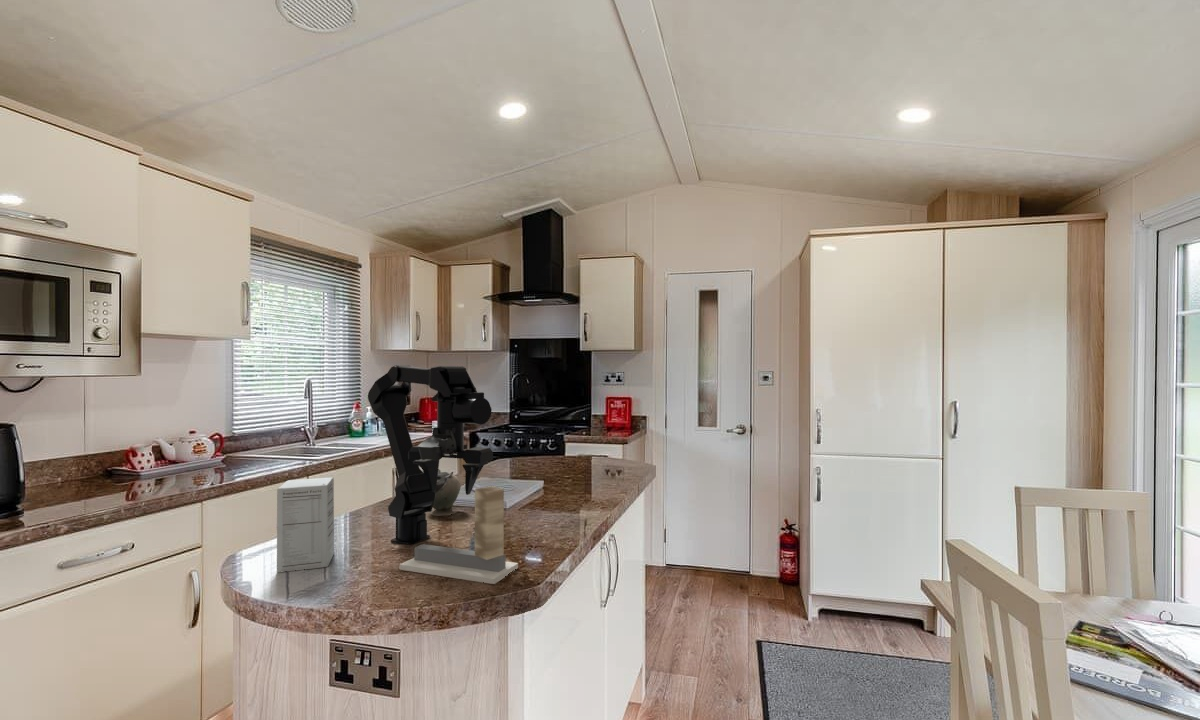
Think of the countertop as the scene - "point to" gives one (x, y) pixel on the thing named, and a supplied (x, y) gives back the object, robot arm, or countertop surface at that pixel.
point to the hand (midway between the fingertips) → (450, 492)
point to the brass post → (489, 522)
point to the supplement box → (305, 524)
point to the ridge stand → (458, 564)
